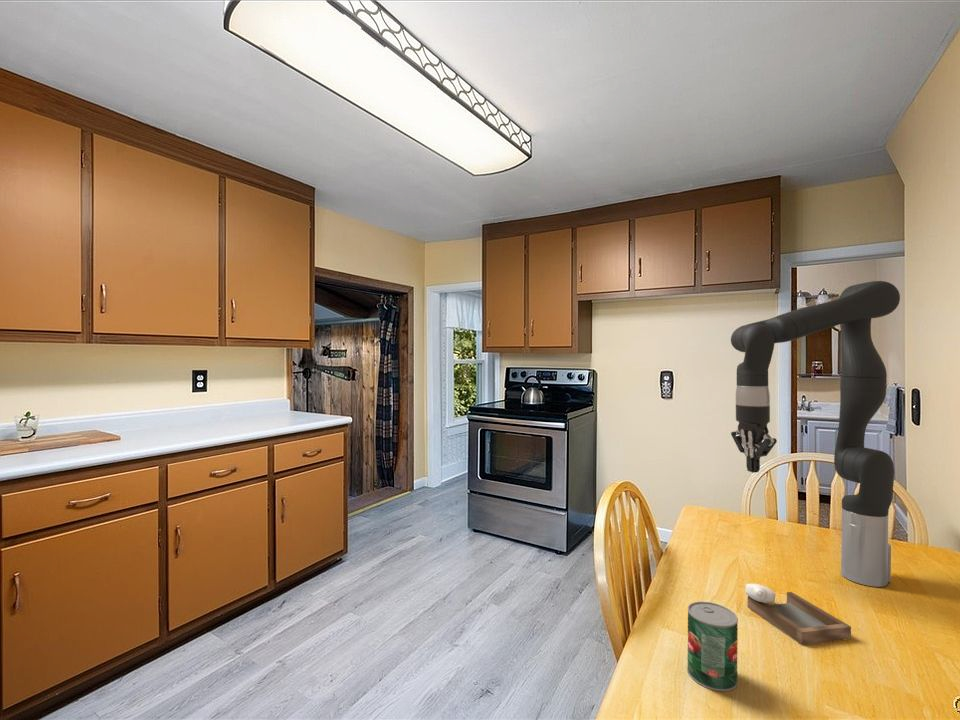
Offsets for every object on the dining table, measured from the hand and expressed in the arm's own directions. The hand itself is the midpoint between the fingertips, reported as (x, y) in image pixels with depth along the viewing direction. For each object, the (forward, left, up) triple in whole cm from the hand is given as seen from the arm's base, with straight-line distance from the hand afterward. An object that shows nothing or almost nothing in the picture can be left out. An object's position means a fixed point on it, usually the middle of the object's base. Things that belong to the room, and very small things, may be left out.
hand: (753, 471), depth 120 cm
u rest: (+6, +19, -27) cm, 34 cm away
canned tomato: (+35, +31, -27) cm, 54 cm away
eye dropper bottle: (+6, +10, -26) cm, 28 cm away
